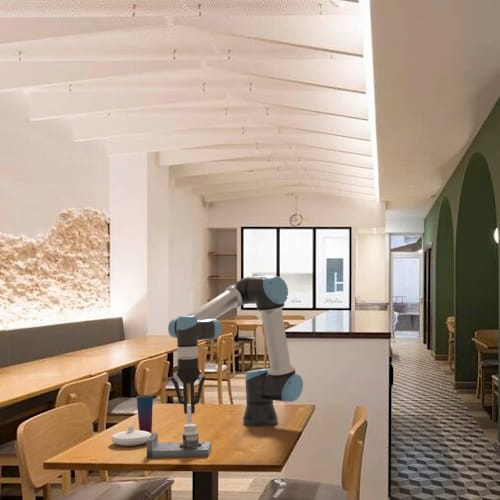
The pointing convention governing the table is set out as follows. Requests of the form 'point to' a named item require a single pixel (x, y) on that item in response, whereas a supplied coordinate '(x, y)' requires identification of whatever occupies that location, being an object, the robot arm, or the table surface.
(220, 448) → the table surface
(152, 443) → the jig
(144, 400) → the cup
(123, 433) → the lid
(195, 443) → the pill bottle
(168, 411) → the table surface
